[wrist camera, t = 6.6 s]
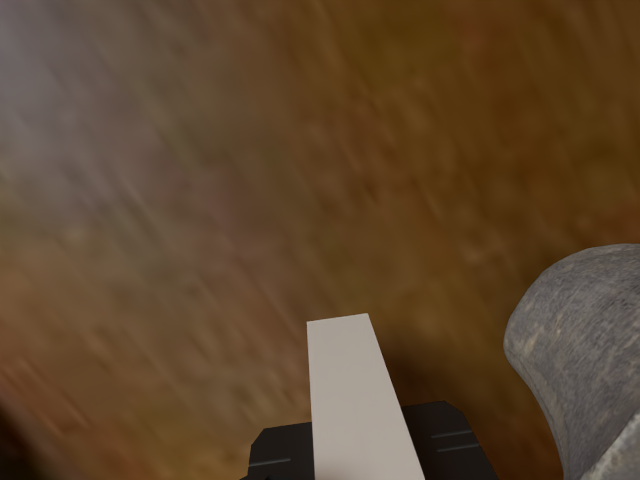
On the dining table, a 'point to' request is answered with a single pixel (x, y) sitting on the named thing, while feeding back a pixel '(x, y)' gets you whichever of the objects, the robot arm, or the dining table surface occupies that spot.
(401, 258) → the dining table surface
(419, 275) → the dining table surface
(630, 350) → the pipe
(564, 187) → the dining table surface
